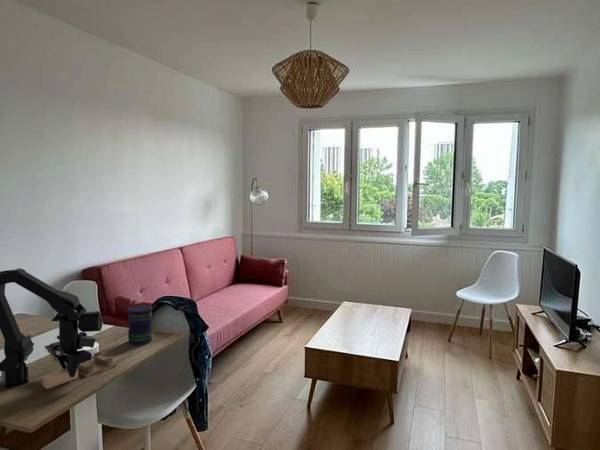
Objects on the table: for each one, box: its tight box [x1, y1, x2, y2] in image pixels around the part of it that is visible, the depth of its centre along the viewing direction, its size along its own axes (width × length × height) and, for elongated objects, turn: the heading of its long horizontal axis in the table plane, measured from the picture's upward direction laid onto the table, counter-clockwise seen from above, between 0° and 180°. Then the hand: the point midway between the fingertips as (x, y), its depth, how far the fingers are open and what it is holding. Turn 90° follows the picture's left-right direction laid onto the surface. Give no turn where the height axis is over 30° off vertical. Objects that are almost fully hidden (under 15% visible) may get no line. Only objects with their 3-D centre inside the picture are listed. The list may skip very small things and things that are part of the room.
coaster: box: [77, 341, 100, 357], centre depth 163 cm, size 10×10×4 cm
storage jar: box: [127, 304, 153, 346], centre depth 177 cm, size 10×10×15 cm
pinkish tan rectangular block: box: [42, 368, 79, 390], centre depth 139 cm, size 10×3×4 cm, turn 145°
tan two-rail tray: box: [77, 351, 117, 378], centre depth 150 cm, size 11×10×4 cm
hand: (70, 375), depth 141 cm, fingers closed on pinkish tan rectangular block, 3 cm apart
